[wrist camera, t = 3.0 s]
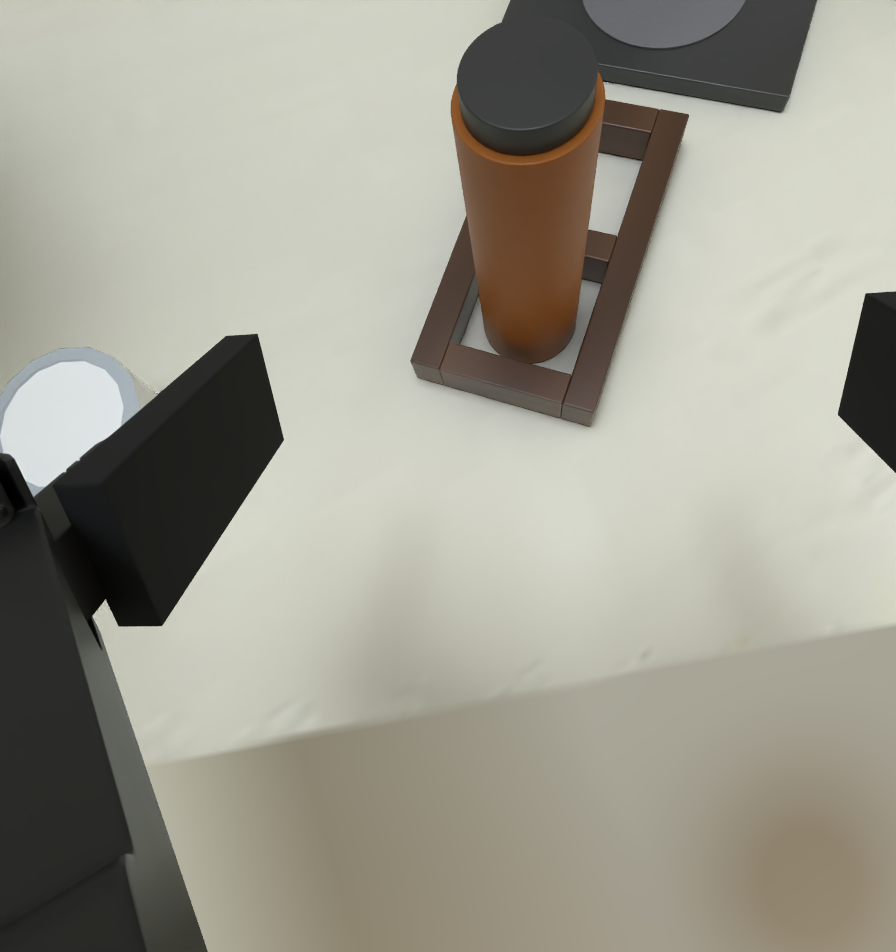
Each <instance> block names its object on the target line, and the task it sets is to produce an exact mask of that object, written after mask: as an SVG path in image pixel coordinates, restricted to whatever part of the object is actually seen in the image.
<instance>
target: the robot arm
mask: <svg viewBox="0 0 896 952" xmlns="http://www.w3.org/2000/svg"><path fill="white" fill-rule="evenodd" d="M838 415H839V416H840V417H841V418H842V419H843V420H844V421H845V422H846V423H847V425H848V426H849V427H850V428H851V429H852V430H853V431H854V432H855V433H856V434H857V435H858V436H859V437H860V438H861V439H862V440H863V441H864V442H865V443H866V444H867V445H868V446H869V447H870V448H871V449H872V450H873V451H874V452H875V453H876V454H877V455H878V456H879V457H880V458H881V459H882V460H883V461H884V462H885V463H886V464H887V465H888V466H889V467H890V468H891V469H892V470H893V471H894V472H895V473H896V292H882V293H867V294H865V298H864V303H863V307H862V311H861V316H860V320H859V325H858V329H857V333H856V338H855V342H854V346H853V351H852V355H851V359H850V364H849V368H848V372H847V377H846V381H845V385H844V390H843V394H842V398H841V403H840V407H839V411H838ZM283 441H284V438H283V434H282V430H281V426H280V422H279V418H278V414H277V410H276V406H275V402H274V398H273V394H272V390H271V386H270V382H269V378H268V374H267V370H266V366H265V362H264V358H263V354H262V350H261V346H260V342H259V338H258V334H250V335H235V336H226V337H224V338H223V339H222V340H221V341H220V342H219V343H217V344H216V345H215V346H214V347H213V348H212V349H210V350H209V351H208V352H207V353H206V354H205V355H203V356H202V357H201V358H200V359H199V360H198V361H196V362H195V363H194V364H193V365H192V366H191V367H189V368H188V369H187V370H186V371H185V372H184V373H182V374H181V375H180V376H179V377H178V378H177V379H175V380H174V381H173V382H172V383H171V384H170V385H168V386H167V387H166V388H165V389H164V390H163V391H161V392H160V393H159V394H158V395H157V396H156V397H154V398H153V399H152V400H151V401H150V402H149V403H147V404H146V405H145V406H144V407H143V408H142V409H141V410H139V411H138V412H137V413H136V414H135V415H134V416H132V417H131V418H130V419H129V420H128V421H127V422H125V423H124V424H123V425H122V426H121V427H120V428H118V429H117V430H116V431H115V432H114V433H113V434H111V435H110V436H109V437H108V438H106V439H104V440H103V441H101V442H99V443H97V444H95V445H94V446H93V447H92V448H91V449H89V450H88V451H87V452H86V453H85V454H84V455H82V456H81V457H80V461H75V462H74V463H73V464H72V465H71V466H69V467H68V468H67V469H66V472H62V473H61V474H60V475H59V476H58V477H56V478H55V479H54V480H53V481H52V482H51V483H49V484H48V485H47V486H46V487H45V488H44V489H42V490H41V491H40V492H39V493H38V494H36V495H35V496H34V497H33V495H32V493H31V491H30V489H29V487H28V485H27V483H26V481H25V479H24V477H23V475H22V473H21V471H20V469H19V467H18V465H17V463H16V461H15V459H14V458H13V457H12V456H11V455H10V454H5V453H0V952H207V949H206V945H205V942H204V939H203V936H202V933H201V930H200V927H199V925H198V922H197V919H196V916H195V913H194V910H193V907H192V904H191V901H190V898H189V895H188V892H187V889H186V886H185V883H184V880H183V877H182V874H181V871H180V868H179V865H178V862H177V859H176V856H175V853H174V850H173V848H172V844H171V841H170V839H169V835H168V832H167V830H166V826H165V824H164V821H163V818H162V815H161V812H160V809H159V806H158V803H157V800H156V797H155V794H154V791H153V788H152V785H151V782H150V779H149V776H148V773H147V770H146V767H145V764H144V761H143V758H142V755H141V752H140V749H139V746H138V743H137V740H136V737H135V734H134V731H133V728H132V725H131V722H130V719H129V716H128V713H127V711H126V708H125V705H124V702H123V699H122V696H121V693H120V690H119V687H118V684H117V681H116V678H115V675H114V672H113V669H112V666H111V663H110V660H109V657H108V654H107V651H106V648H105V645H104V642H103V639H102V636H101V633H100V631H99V629H98V627H97V625H96V623H95V621H94V619H93V617H92V615H93V614H94V613H95V612H96V610H97V609H98V608H99V607H100V605H101V604H102V603H103V602H104V600H105V599H106V600H107V603H108V605H109V607H110V609H111V611H112V613H113V615H114V617H115V620H116V622H117V624H118V626H162V625H163V624H164V622H165V621H166V619H167V618H168V616H169V615H170V613H171V611H172V610H173V608H174V607H175V605H176V604H177V602H178V601H179V599H180V598H181V596H182V595H183V593H184V592H185V590H186V589H187V587H188V586H189V584H190V582H191V581H192V579H193V578H194V576H195V575H196V573H197V572H198V570H199V569H200V567H201V566H202V564H203V563H204V561H205V560H206V558H207V557H208V555H209V553H210V552H211V550H212V549H213V547H214V546H215V544H216V543H217V541H218V540H219V538H220V537H221V535H222V534H223V532H224V531H225V529H226V528H227V526H228V524H229V523H230V521H231V520H232V518H233V517H234V515H235V514H236V512H237V511H238V509H239V508H240V506H241V505H242V503H243V502H244V500H245V499H246V497H247V495H248V494H249V492H250V491H251V489H252V488H253V486H254V485H255V483H256V482H257V480H258V479H259V477H260V476H261V474H262V473H263V471H264V470H265V468H266V466H267V465H268V463H269V462H270V460H271V459H272V457H273V456H274V454H275V453H276V451H277V450H278V448H279V447H280V445H281V444H282V442H283Z"/></svg>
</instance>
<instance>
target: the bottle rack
mask: <svg viewBox="0 0 896 952" xmlns="http://www.w3.org/2000/svg"><path fill="white" fill-rule="evenodd" d="M688 118H689V115H688V114H684V113H678V112H673V111H667V110H662V109H660V110H658V109H655V108H650V107H644V106H639V105H633V104H628V103H622V102H617V101H611V100H606V99H605V105H604V113H603V121H602V128H601V136H600V143H599V151H600V152H605V153H610V154H615V155H620V156H625V157H630V158H635V159H640V160H643V161H642V164H641V167H640V170H639V173H638V176H637V179H636V182H635V185H634V188H633V191H632V194H631V197H630V200H629V203H628V206H627V209H626V212H625V215H624V218H623V221H622V224H621V227H620V230H619V234H618V237H617V236H615V235H611V234H606V233H602V232H597V231H593V230H588V234H587V241H586V249H585V256H584V264H583V271H582V278H583V279H587V280H591V281H596V282H600V283H602V285H601V288H600V291H599V294H598V297H597V300H596V303H595V306H594V309H593V312H592V315H591V318H590V321H589V324H588V327H587V331H586V334H585V337H584V340H583V343H582V346H581V349H580V352H579V355H578V358H577V361H576V364H575V367H574V370H573V373H572V376H571V375H570V374H566V373H562V372H558V371H555V370H551V369H547V368H544V367H540V366H536V365H533V364H529V363H525V362H522V361H518V360H514V359H510V358H507V357H503V356H499V355H496V354H492V353H488V352H485V351H481V350H477V349H474V348H470V347H466V346H462V345H459V344H460V342H461V339H462V336H463V334H464V331H465V328H466V325H467V323H468V320H469V317H470V315H471V312H472V309H473V307H474V304H475V301H476V298H477V296H478V293H479V291H478V284H477V278H476V271H475V265H474V259H473V252H472V246H471V239H470V233H469V227H468V220H467V215H466V218H465V220H464V223H463V226H462V228H461V231H460V233H459V236H458V239H457V241H456V244H455V246H454V249H453V252H452V254H451V257H450V259H449V262H448V265H447V267H446V270H445V272H444V275H443V277H442V280H441V283H440V285H439V288H438V290H437V293H436V296H435V298H434V301H433V303H432V306H431V309H430V311H429V314H428V316H427V319H426V322H425V324H424V327H423V329H422V332H421V335H420V337H419V340H418V342H417V345H416V348H415V350H414V353H413V355H412V358H411V364H412V366H413V368H414V371H415V373H416V375H417V377H418V378H421V379H425V380H428V381H432V382H435V383H439V384H442V385H444V384H445V385H446V386H449V387H453V388H456V389H460V390H463V391H467V392H470V393H474V394H477V395H481V396H484V397H488V398H491V399H495V400H498V401H502V402H505V403H509V404H512V405H516V406H519V407H523V408H526V409H530V410H533V411H537V412H540V413H544V414H547V415H551V416H554V417H558V418H560V417H561V418H562V419H565V420H569V421H572V422H576V423H579V424H583V425H586V426H591V425H592V421H593V418H594V415H595V412H596V409H597V406H598V403H599V399H600V396H601V393H602V390H603V387H604V384H605V381H606V377H607V374H608V371H609V368H610V365H611V362H612V359H613V355H614V352H615V349H616V346H617V343H618V340H619V337H620V333H621V330H622V327H623V324H624V321H625V318H626V315H627V311H628V308H629V305H630V302H631V299H632V296H633V293H634V289H635V286H636V283H637V280H638V277H639V274H640V271H641V267H642V264H643V261H644V258H645V255H646V252H647V249H648V245H649V242H650V239H651V236H652V233H653V230H654V227H655V223H656V220H657V217H658V214H659V211H660V208H661V205H662V201H663V198H664V195H665V192H666V189H667V186H668V183H669V179H670V176H671V173H672V170H673V167H674V164H675V161H676V157H677V154H678V151H679V148H680V145H681V142H682V138H683V135H684V131H685V128H686V125H687V121H688Z"/></svg>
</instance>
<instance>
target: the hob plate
mask: <svg viewBox="0 0 896 952" xmlns="http://www.w3.org/2000/svg"><path fill="white" fill-rule="evenodd" d="M816 2H817V0H510V3H509V5H508V8H507V10H506V13H505V15H504V18H503V20H502V22H504V21H507V20H510V19H514V18H519V17H526V16H543V17H550V18H554V19H558V20H561V21H564V22H566V23H568V24H570V25H572V26H573V27H575V28H576V29H578V30H579V31H580V32H581V33H582V34H584V36H585V37H586V38H587V39H588V40H589V42H590V43H591V45H592V47H593V49H594V51H595V54H596V57H597V62H598V72H599V74H600V76H601V78H602V80H604V81H609V82H615V83H621V84H626V85H632V86H638V87H643V88H649V89H655V90H660V91H666V92H672V93H677V94H683V95H689V96H694V97H700V98H706V99H711V100H717V101H723V102H728V103H734V104H740V105H745V106H751V107H757V108H762V109H768V110H774V111H779V112H782V111H783V110H784V108H785V106H786V104H787V102H788V100H789V97H790V94H791V90H792V87H793V83H794V80H795V76H796V73H797V69H798V66H799V62H800V59H801V55H802V52H803V48H804V45H805V41H806V38H807V34H808V30H809V27H810V23H811V20H812V16H813V13H814V9H815V6H816Z"/></svg>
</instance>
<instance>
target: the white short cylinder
mask: <svg viewBox="0 0 896 952" xmlns="http://www.w3.org/2000/svg"><path fill="white" fill-rule="evenodd" d="M156 396H157V394H156V393H155V392H154V391H152V390H151V389H150V388H149V387H148V386H147V385H146V384H144V383H143V382H142V381H141V380H140V379H139V378H138V377H136V376H135V375H134V374H133V373H132V372H131V371H130V370H128V369H127V368H126V367H125V366H124V365H123V364H122V363H120V362H119V361H118V360H117V359H116V358H115V357H113V356H110V355H108V354H105V353H102V352H100V351H97V350H95V349H92V348H90V347H84V348H62V349H58V350H56V351H54V352H51V353H49V354H47V355H44V356H42V357H40V358H37V359H35V360H33V361H31V362H30V363H29V364H28V365H27V366H26V367H25V368H23V369H22V370H21V371H20V372H19V373H18V374H17V375H16V376H14V377H13V378H12V379H11V380H10V381H9V382H8V383H7V385H6V387H5V388H4V390H3V392H2V393H1V395H0V453H5V454H10V455H11V456H12V457H13V458H14V459H15V461H16V463H17V465H18V467H19V469H20V471H21V473H22V475H23V477H24V479H25V481H26V483H27V485H28V487H29V489H30V491H31V493H32V495H33V497H34V496H35V495H36V494H38V493H39V492H40V491H41V490H42V489H44V488H45V487H46V486H47V485H48V484H49V483H51V482H52V481H53V480H54V479H55V478H56V477H58V476H59V475H60V474H61V473H62V472H66V469H67V468H68V467H69V466H71V465H72V464H73V463H74V462H75V461H80V457H81V456H82V455H84V454H85V453H86V452H87V451H88V450H89V449H91V448H92V447H93V446H94V445H95V444H97V443H99V442H101V441H103V440H104V439H106V438H108V437H109V436H110V435H111V434H113V433H114V432H115V431H116V430H117V429H118V428H120V427H121V426H122V425H123V424H124V423H125V422H127V421H128V420H129V419H130V418H131V417H132V416H134V415H135V414H136V413H137V412H138V411H139V410H141V409H142V408H143V407H144V406H145V405H146V404H147V403H149V402H150V401H151V400H152V399H153V398H154V397H156Z"/></svg>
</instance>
